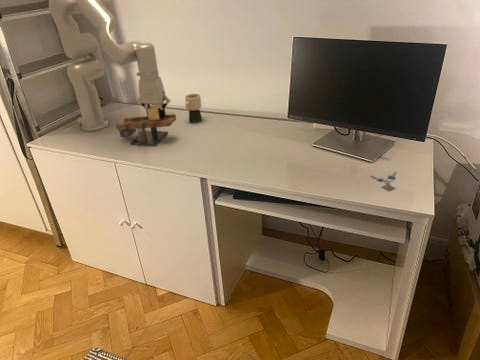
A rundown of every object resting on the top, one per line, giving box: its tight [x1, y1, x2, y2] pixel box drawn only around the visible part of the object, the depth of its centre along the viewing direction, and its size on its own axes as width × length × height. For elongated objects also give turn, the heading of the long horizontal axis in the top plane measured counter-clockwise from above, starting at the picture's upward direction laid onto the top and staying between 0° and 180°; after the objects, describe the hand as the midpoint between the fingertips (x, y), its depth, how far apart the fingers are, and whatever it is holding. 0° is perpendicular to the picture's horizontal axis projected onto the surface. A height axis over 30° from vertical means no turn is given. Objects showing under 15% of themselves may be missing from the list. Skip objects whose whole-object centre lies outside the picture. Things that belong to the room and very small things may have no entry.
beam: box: [115, 113, 177, 139], centre depth 163 cm, size 25×8×6 cm, turn 77°
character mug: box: [184, 93, 203, 123], centre depth 179 cm, size 11×7×13 cm, turn 148°
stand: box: [129, 123, 169, 147], centre depth 164 cm, size 12×14×10 cm
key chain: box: [370, 170, 397, 192], centre depth 125 cm, size 14×8×1 cm, turn 158°
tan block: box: [146, 104, 165, 122], centre depth 159 cm, size 5×5×6 cm
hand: (156, 117), depth 160 cm, fingers closed on tan block, 5 cm apart
